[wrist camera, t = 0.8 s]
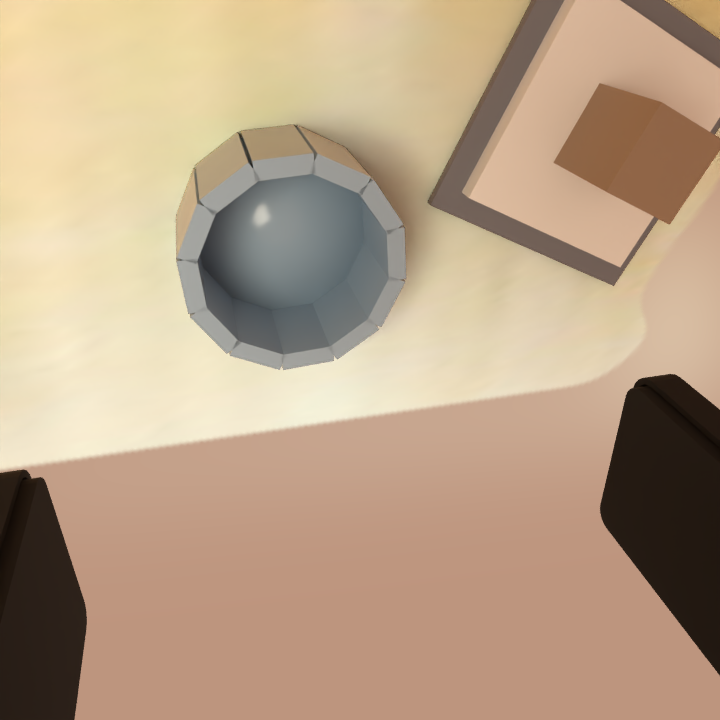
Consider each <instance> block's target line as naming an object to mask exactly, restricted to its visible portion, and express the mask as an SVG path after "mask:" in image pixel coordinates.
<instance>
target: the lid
mask: <svg viewBox="0 0 720 720" xmlns="http://www.w3.org/2000/svg"><path fill="white" fill-rule="evenodd" d="M719 118H720V68H718V67H717V66H715V65H714V64H712V63H711V62H709V61H708V60H707V59H705V58H704V57H702V56H701V55H699V54H698V53H696V52H695V51H693V50H692V49H691V48H689V47H688V46H686V45H685V44H683V43H682V42H680V41H679V40H677V39H676V38H675V37H673V36H672V35H670V34H669V33H667V32H666V31H664V30H663V29H661V28H660V27H659V26H657V25H656V24H654V23H653V22H651V21H650V20H648V19H647V18H645V17H644V16H643V15H641V14H640V13H638V12H637V11H635V10H634V9H632V8H631V7H629V6H628V5H627V4H625V3H624V2H622V1H621V0H564V2H563V4H562V5H561V7H560V9H559V11H558V13H557V15H556V17H555V18H554V20H553V22H552V24H551V26H550V28H549V30H548V32H547V33H546V35H545V37H544V39H543V41H542V43H541V45H540V47H539V48H538V50H537V52H536V54H535V56H534V58H533V60H532V62H531V63H530V65H529V67H528V69H527V71H526V73H525V75H524V76H523V78H522V80H521V82H520V84H519V86H518V88H517V90H516V91H515V93H514V95H513V97H512V99H511V101H510V103H509V105H508V106H507V108H506V110H505V112H504V114H503V116H502V118H501V119H500V121H499V123H498V125H497V127H496V129H495V131H494V133H493V134H492V136H491V138H490V140H489V142H488V144H487V146H486V148H485V149H484V151H483V153H482V155H481V157H480V159H479V161H478V163H477V164H476V166H475V168H474V170H473V172H472V174H471V176H470V177H469V179H468V181H467V183H466V185H465V187H464V189H463V191H462V193H463V194H464V195H466V196H467V197H468V198H470V199H472V200H474V201H476V202H478V203H481V204H483V205H485V206H487V207H489V208H492V209H494V210H496V211H498V212H500V213H502V214H505V215H507V216H509V217H511V218H513V219H516V220H518V221H520V222H522V223H524V224H526V225H529V226H531V227H533V228H535V229H537V230H540V231H542V232H544V233H546V234H548V235H550V236H553V237H555V238H557V239H559V240H561V241H564V242H566V243H568V244H570V245H572V246H574V247H577V248H579V249H581V250H583V251H585V252H588V253H590V254H592V255H594V256H596V257H598V258H601V259H603V260H605V261H607V262H609V263H612V264H614V265H616V266H618V267H621V266H622V264H623V262H624V261H625V259H626V258H627V256H628V255H629V253H630V252H631V250H632V249H633V247H634V246H635V244H636V243H637V241H638V240H639V238H640V237H641V235H642V234H643V232H644V231H645V229H646V228H647V226H648V225H649V223H650V222H651V220H652V219H653V217H656V218H658V219H660V220H662V221H664V222H665V223H667V224H670V223H671V221H672V220H673V219H674V217H675V216H676V214H677V213H678V211H679V210H680V208H681V207H682V205H683V204H684V202H685V201H686V199H687V198H688V196H689V195H690V193H691V192H692V190H693V189H694V187H695V186H696V185H697V183H698V182H699V180H700V179H701V177H702V176H703V174H704V173H705V171H706V170H707V168H708V167H709V165H710V164H711V162H712V161H713V159H714V158H715V156H716V155H717V154H718V152H719V151H720V138H719V137H717V136H715V135H714V134H712V133H711V132H710V131H711V130H712V128H713V127H714V125H715V124H716V122H717V121H718V119H719Z"/></svg>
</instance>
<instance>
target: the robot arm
mask: <svg viewBox="0 0 720 720" xmlns="http://www.w3.org/2000/svg"><path fill="white" fill-rule="evenodd" d="M600 513H601V517H602V520H603V523H604V525H605V526H606V528H607V529H608V531H609V532H610V533H611V534H612V536H613V537H614V538H615V539H616V541H617V542H618V544H619V545H620V546H621V547H622V548H623V550H624V551H625V553H626V554H627V555H628V557H629V558H630V559H631V560H632V562H633V563H634V564H635V566H636V567H637V568H638V569H639V571H640V572H641V574H642V575H643V576H644V577H645V579H646V580H647V581H648V583H649V584H650V585H651V586H652V588H653V589H654V590H655V592H656V593H657V594H658V596H659V597H660V598H661V600H662V601H663V602H664V603H665V605H666V606H667V607H668V609H669V610H670V611H671V613H672V614H673V615H674V616H675V618H676V619H677V620H678V622H679V623H680V624H681V626H682V627H683V628H684V629H685V631H686V632H687V633H688V635H689V636H690V637H691V639H692V640H693V641H694V642H695V644H696V645H697V646H698V647H699V649H700V650H701V652H702V653H703V654H704V656H705V657H706V658H707V659H708V661H709V662H710V663H711V665H712V666H713V667H714V668H715V670H716V671H717V672H718V674H719V675H720V410H719V409H718V408H717V407H716V406H715V405H713V404H712V403H711V402H710V401H708V400H707V399H706V398H705V397H703V396H702V395H701V394H700V393H699V392H697V391H696V390H695V389H694V388H692V387H691V386H690V385H689V384H688V383H686V382H685V381H684V380H683V379H681V378H680V377H678V376H677V375H673V374H668V375H660V376H654V377H647V378H642V379H639V380H638V381H637V382H636V383H635V385H634V388H632V389H630V390H629V391H628V392H627V395H626V398H625V402H624V407H623V411H622V415H621V420H620V424H619V428H618V432H617V436H616V441H615V445H614V449H613V454H612V458H611V462H610V466H609V471H608V475H607V479H606V483H605V488H604V492H603V497H602V501H601V505H600ZM86 625H87V617H86V607H85V602H84V599H83V596H82V593H81V590H80V587H79V584H78V581H77V577H76V574H75V571H74V568H73V565H72V562H71V559H70V556H69V553H68V550H67V547H66V544H65V540H64V537H63V534H62V531H61V528H60V525H59V522H58V519H57V516H56V513H55V510H54V506H53V503H52V500H51V497H50V494H49V491H48V488H47V485H46V482H45V480H44V479H43V478H41V477H40V478H33V479H31V476H30V474H29V473H28V472H27V470H17V471H11V472H4V473H0V720H74V718H75V711H76V703H77V696H78V688H79V680H80V673H81V665H82V657H83V650H84V642H85V635H86Z"/></svg>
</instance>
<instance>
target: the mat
mask: <svg viewBox="0 0 720 720" xmlns="http://www.w3.org/2000/svg"><path fill="white" fill-rule="evenodd" d="M621 1H622V2H624V3H625V4H627V5H628V6H629V7H631V8H632V9H634V10H635V11H637V12H638V13H640V14H641V15H643V16H644V17H645V18H647V19H648V20H650V21H651V22H653V23H654V24H656V25H657V26H659V27H660V28H661V29H663V30H664V31H666V32H667V33H669V34H670V35H672V36H673V37H675V38H676V39H677V40H679V41H680V42H682V43H683V44H685V45H686V46H688V47H689V48H691V49H692V50H693V51H695V52H696V53H698V54H699V55H701V56H702V57H704V58H705V59H707V60H708V61H709V62H711V63H712V64H714V65H715V66H717V67H718V68H720V40H719V39H718V38H716V37H715V36H713V35H712V34H711V33H709V32H708V31H706V30H705V29H704V28H702V27H701V26H699V25H698V24H697V23H695V22H694V21H692V20H691V19H690V18H688V17H687V16H685V15H684V14H683V13H681V12H680V11H678V10H677V9H676V8H674V7H673V6H671V5H670V4H669V3H667V2H666V1H664V0H621ZM563 2H564V0H532V1H531V3H530V5H529V7H528V9H527V11H526V12H525V14H524V16H523V18H522V20H521V22H520V24H519V26H518V28H517V30H516V32H515V34H514V36H513V38H512V40H511V41H510V43H509V45H508V47H507V49H506V51H505V53H504V55H503V57H502V59H501V61H500V63H499V65H498V67H497V69H496V71H495V72H494V74H493V76H492V78H491V80H490V82H489V84H488V86H487V88H486V90H485V92H484V94H483V96H482V98H481V100H480V101H479V103H478V105H477V107H476V109H475V111H474V113H473V115H472V117H471V119H470V121H469V123H468V125H467V127H466V129H465V131H464V132H463V134H462V136H461V138H460V140H459V142H458V144H457V146H456V148H455V150H454V152H453V154H452V156H451V158H450V160H449V161H448V163H447V165H446V167H445V169H444V171H443V173H442V175H441V177H440V179H439V181H438V183H437V185H436V187H435V189H434V191H433V192H432V194H431V196H430V198H429V200H428V203H429V204H430V205H431V206H433V207H436V208H438V209H440V210H443V211H445V212H447V213H449V214H452V215H454V216H456V217H458V218H461V219H463V220H465V221H468V222H470V223H472V224H474V225H477V226H479V227H481V228H483V229H486V230H488V231H490V232H493V233H495V234H497V235H499V236H502V237H504V238H506V239H508V240H511V241H513V242H515V243H518V244H520V245H522V246H524V247H527V248H529V249H531V250H533V251H536V252H538V253H540V254H543V255H545V256H547V257H549V258H552V259H554V260H556V261H558V262H561V263H563V264H565V265H568V266H570V267H572V268H574V269H577V270H579V271H581V272H583V273H586V274H588V275H590V276H593V277H595V278H597V279H599V280H602V281H604V282H606V283H608V284H611V285H613V286H614V285H615V283H616V282H617V280H618V279H619V277H620V276H621V274H622V273H623V271H624V270H625V268H626V267H627V265H628V264H629V262H630V261H631V259H632V258H633V256H634V255H635V253H636V252H637V250H638V249H639V247H640V246H641V244H642V243H643V241H644V240H645V238H646V237H647V235H648V234H649V232H650V231H651V229H652V228H653V226H654V225H655V223H656V222H657V220H658V218H656V217H653V219H652V220H651V222H650V223H649V225H648V226H647V228H646V229H645V231H644V232H643V234H642V235H641V237H640V238H639V240H638V241H637V243H636V244H635V246H634V247H633V249H632V250H631V252H630V253H629V255H628V256H627V258H626V259H625V261H624V262H623V264H622V266H621V267H618V266H616V265H614V264H612V263H609V262H607V261H605V260H603V259H601V258H598V257H596V256H594V255H592V254H590V253H588V252H585V251H583V250H581V249H579V248H577V247H574V246H572V245H570V244H568V243H566V242H564V241H561V240H559V239H557V238H555V237H553V236H550V235H548V234H546V233H544V232H542V231H540V230H537V229H535V228H533V227H531V226H529V225H526V224H524V223H522V222H520V221H518V220H516V219H513V218H511V217H509V216H507V215H505V214H502V213H500V212H498V211H496V210H494V209H492V208H489V207H487V206H485V205H483V204H481V203H478V202H476V201H474V200H472V199H470V198H468V197H467V196H466V195H464V194H463V193H462V191H463V189H464V187H465V185H466V183H467V181H468V179H469V177H470V176H471V174H472V172H473V170H474V168H475V166H476V164H477V163H478V161H479V159H480V157H481V155H482V153H483V151H484V149H485V148H486V146H487V144H488V142H489V140H490V138H491V136H492V134H493V133H494V131H495V129H496V127H497V125H498V123H499V121H500V119H501V118H502V116H503V114H504V112H505V110H506V108H507V106H508V105H509V103H510V101H511V99H512V97H513V95H514V93H515V91H516V90H517V88H518V86H519V84H520V82H521V80H522V78H523V76H524V75H525V73H526V71H527V69H528V67H529V65H530V63H531V62H532V60H533V58H534V56H535V54H536V52H537V50H538V48H539V47H540V45H541V43H542V41H543V39H544V37H545V35H546V33H547V32H548V30H549V28H550V26H551V24H552V22H553V20H554V18H555V17H556V15H557V13H558V11H559V9H560V7H561V5H562V4H563ZM719 127H720V118H719V119H718V121H717V122H716V124H715V125H714V127H713V128H712V130H711V131H710V132H711V133H712V134H714V135H715V133H716V132H717V130H718V129H719Z"/></svg>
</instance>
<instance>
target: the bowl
mask: <svg viewBox="0 0 720 720" xmlns="http://www.w3.org/2000/svg"><path fill="white" fill-rule="evenodd" d="M241 136H242V138H241ZM241 136H240V135H239V134H238V133H236V134H234V135H233V136H232V137H231V138H229V139H228V140H227V141H225V142H224V143H223V144H222V145H220V146H219V147H218V148H217V149H215V150H214V151H213V152H211V153H210V154H209V155H208V156H206V157H205V158H204V159H202V160H201V161H200V162H199V163H197V164H196V169H195V168H193V170H192V173H191V176H190V179H189V181H188V184H187V187H186V190H185V192H184V195H183V198H182V201H181V203H180V206H179V209H178V212H177V214H176V259H177V266H178V270H179V275H180V279H181V284H182V288H183V292H184V297H185V301H186V306H187V310H188V314H190V317H191V318H192V319H193V320H194V321H195V322H196V323H197V324H198V325H199V326H200V327H201V329H202V330H203V331H204V332H205V333H206V334H207V335H208V336H209V337H210V338H211V339H212V340H213V341H214V342H215V343H216V344H217V345H218V346H219V347H220V348H221V349H222V350H223V351H224V352H225V353H226V354H227V353H230V356H233V357H237V358H240V359H244V360H247V361H251V362H254V363H257V364H261V365H264V366H268V367H271V368H275V369H278V370H280V368H281V366H282V368H283V370H286V369H291V368H297V367H302V366H308V365H313V364H319V363H325V362H330V361H334V356H335V357H336V358H337V359H339V358H340V357H341V356H343V355H344V354H346V353H347V352H348V351H350V350H351V349H353V348H354V347H355V346H357V345H358V344H360V343H361V342H362V341H364V340H365V339H367V338H368V337H369V336H371V335H372V334H374V333H375V332H376V331H378V330H379V328H378V327H377V326H380V327H382V325H383V323H384V321H385V319H386V317H387V316H388V314H389V312H390V310H391V308H392V306H393V304H394V302H395V300H396V299H397V297H398V295H399V293H400V291H401V289H402V287H403V285H404V283H405V281H404V279H406V257H405V227H404V226H403V222H402V221H401V219H400V218H399V216H398V215H397V213H396V212H395V210H394V209H393V208H392V206H391V205H390V203H389V202H388V200H387V199H386V197H385V196H384V194H383V193H382V191H381V190H380V188H379V187H378V185H377V184H376V182H375V181H374V179H373V178H372V177H371V176H370V175H369V174H368V172H367V171H366V170H365V169H364V168H363V167H362V166H361V165H360V163H359V162H358V161H357V160H356V159H355V158H354V157H353V156H352V154H351V153H350V152H349V151H348V150H347V149H346V148H345V147H344V146H342V145H340V144H338V143H335V142H333V141H331V140H329V139H327V138H324V137H322V136H320V135H318V134H316V133H313V132H311V131H309V130H307V129H305V128H302V127H300V126H298V125H297V126H296V127H295V126H294V125H285V126H277V127H269V128H260V129H252V130H243V131H241Z"/></svg>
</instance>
